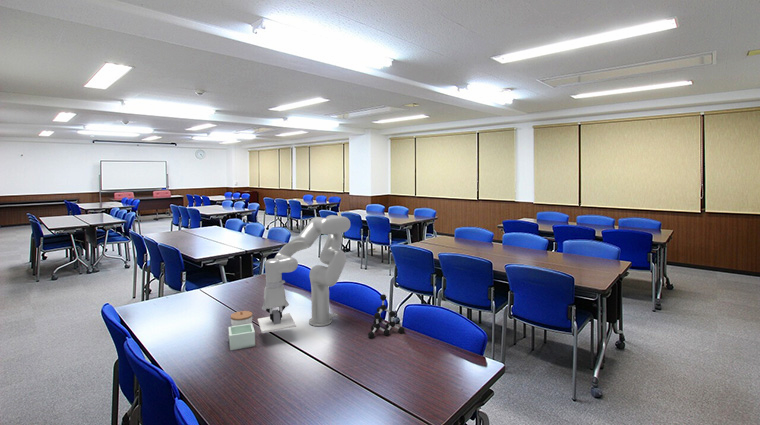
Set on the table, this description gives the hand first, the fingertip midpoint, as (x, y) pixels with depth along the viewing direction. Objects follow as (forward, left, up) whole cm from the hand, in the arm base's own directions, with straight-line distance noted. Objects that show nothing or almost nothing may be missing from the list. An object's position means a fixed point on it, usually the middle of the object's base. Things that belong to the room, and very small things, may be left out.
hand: (276, 319), depth 185 cm
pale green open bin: (+16, 0, -9) cm, 19 cm away
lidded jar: (+15, -18, -9) cm, 25 cm away
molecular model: (-49, +16, -10) cm, 53 cm away
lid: (0, 0, -2) cm, 2 cm away
